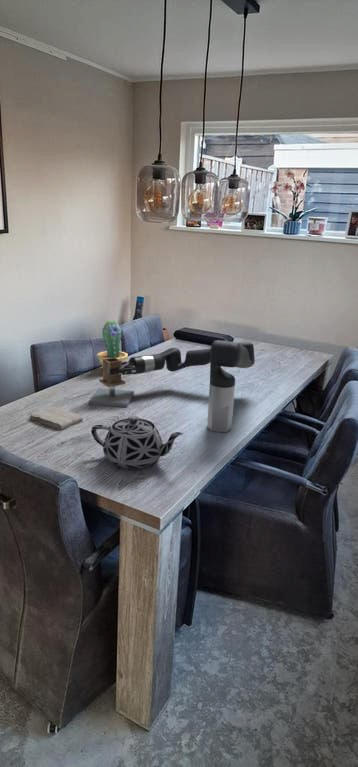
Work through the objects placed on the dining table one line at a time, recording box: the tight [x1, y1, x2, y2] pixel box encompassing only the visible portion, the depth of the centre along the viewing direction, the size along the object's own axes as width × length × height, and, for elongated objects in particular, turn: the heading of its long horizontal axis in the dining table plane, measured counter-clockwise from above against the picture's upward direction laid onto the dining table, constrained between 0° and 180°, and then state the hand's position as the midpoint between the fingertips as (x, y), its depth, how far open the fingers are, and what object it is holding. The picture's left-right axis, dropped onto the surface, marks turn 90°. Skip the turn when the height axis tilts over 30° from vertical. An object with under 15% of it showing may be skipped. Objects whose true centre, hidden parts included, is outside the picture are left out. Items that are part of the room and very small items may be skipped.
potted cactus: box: [96, 320, 128, 367], centre depth 254 cm, size 15×15×25 cm
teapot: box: [90, 415, 184, 470], centre depth 163 cm, size 19×31×15 cm, turn 75°
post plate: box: [88, 386, 135, 408], centre depth 216 cm, size 16×16×10 cm
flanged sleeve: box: [98, 358, 126, 388], centre depth 215 cm, size 8×8×10 cm
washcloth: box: [29, 405, 84, 430], centre depth 194 cm, size 12×18×3 cm, turn 57°
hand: (106, 370), depth 213 cm, fingers closed on flanged sleeve, 5 cm apart
